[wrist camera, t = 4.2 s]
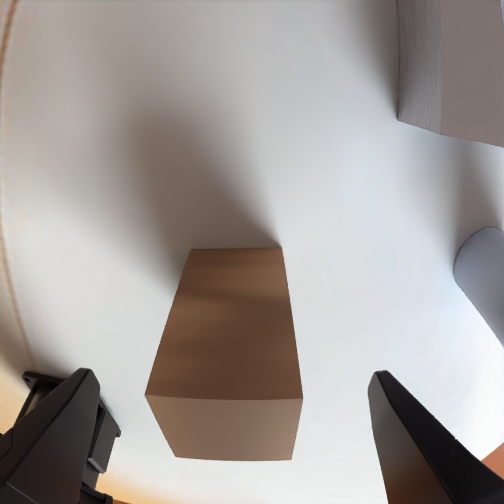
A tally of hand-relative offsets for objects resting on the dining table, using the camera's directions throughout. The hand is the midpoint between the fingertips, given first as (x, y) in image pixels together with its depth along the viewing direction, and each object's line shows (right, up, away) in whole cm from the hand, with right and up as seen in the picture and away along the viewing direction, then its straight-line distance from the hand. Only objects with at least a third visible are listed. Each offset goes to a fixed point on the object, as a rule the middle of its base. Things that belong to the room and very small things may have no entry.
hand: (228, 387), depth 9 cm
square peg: (0, +3, +5) cm, 5 cm away
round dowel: (+12, +4, +4) cm, 13 cm away
